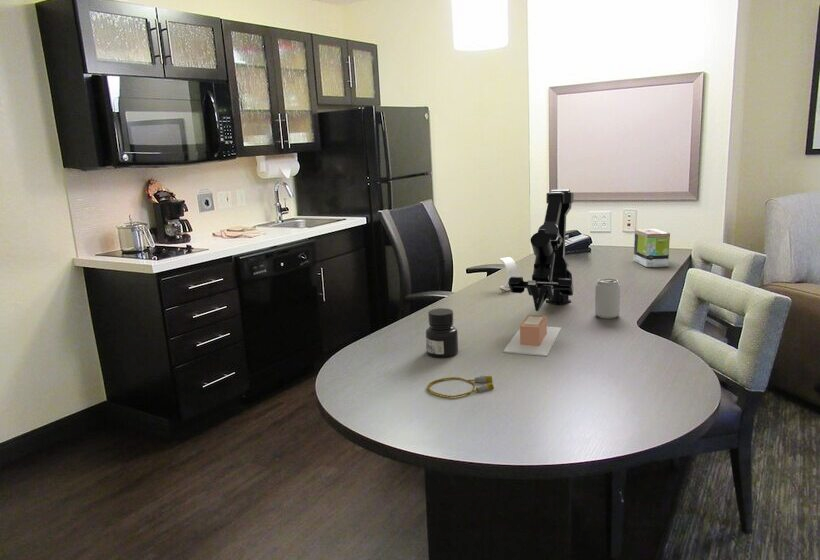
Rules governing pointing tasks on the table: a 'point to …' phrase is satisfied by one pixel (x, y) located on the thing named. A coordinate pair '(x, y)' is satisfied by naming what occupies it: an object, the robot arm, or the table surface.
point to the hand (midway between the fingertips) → (536, 310)
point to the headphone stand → (509, 270)
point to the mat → (540, 350)
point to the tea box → (651, 247)
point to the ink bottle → (441, 334)
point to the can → (607, 298)
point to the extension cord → (478, 379)
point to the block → (533, 330)
